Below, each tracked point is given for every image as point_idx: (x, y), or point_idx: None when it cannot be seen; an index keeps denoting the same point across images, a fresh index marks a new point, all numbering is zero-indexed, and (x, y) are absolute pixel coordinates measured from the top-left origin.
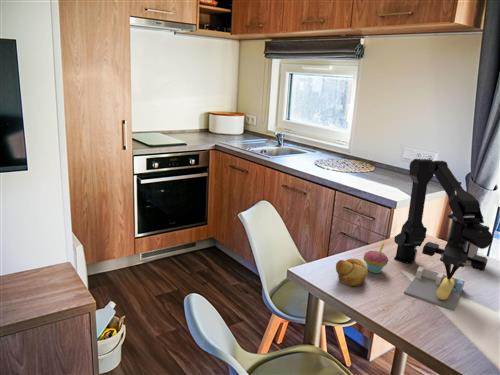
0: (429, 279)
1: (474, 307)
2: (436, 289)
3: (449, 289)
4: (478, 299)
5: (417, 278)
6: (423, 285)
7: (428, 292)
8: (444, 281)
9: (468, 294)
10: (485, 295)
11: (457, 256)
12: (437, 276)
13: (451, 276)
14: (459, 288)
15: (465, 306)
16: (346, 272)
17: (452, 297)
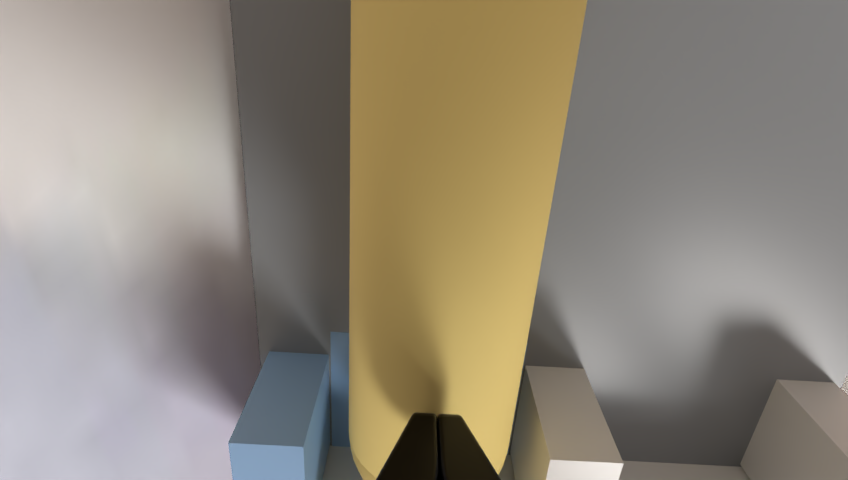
0: (652, 437)
1: (10, 79)
2: (559, 230)
3: (366, 99)
4: (66, 336)
5: (809, 377)
6: (745, 231)
7: (680, 41)
8: (496, 340)
9: (193, 382)
10: (50, 463)
11: None
12: (611, 460)
13: (394, 469)
14: (275, 383)
15: (112, 16)
16: None
17: (320, 129)
